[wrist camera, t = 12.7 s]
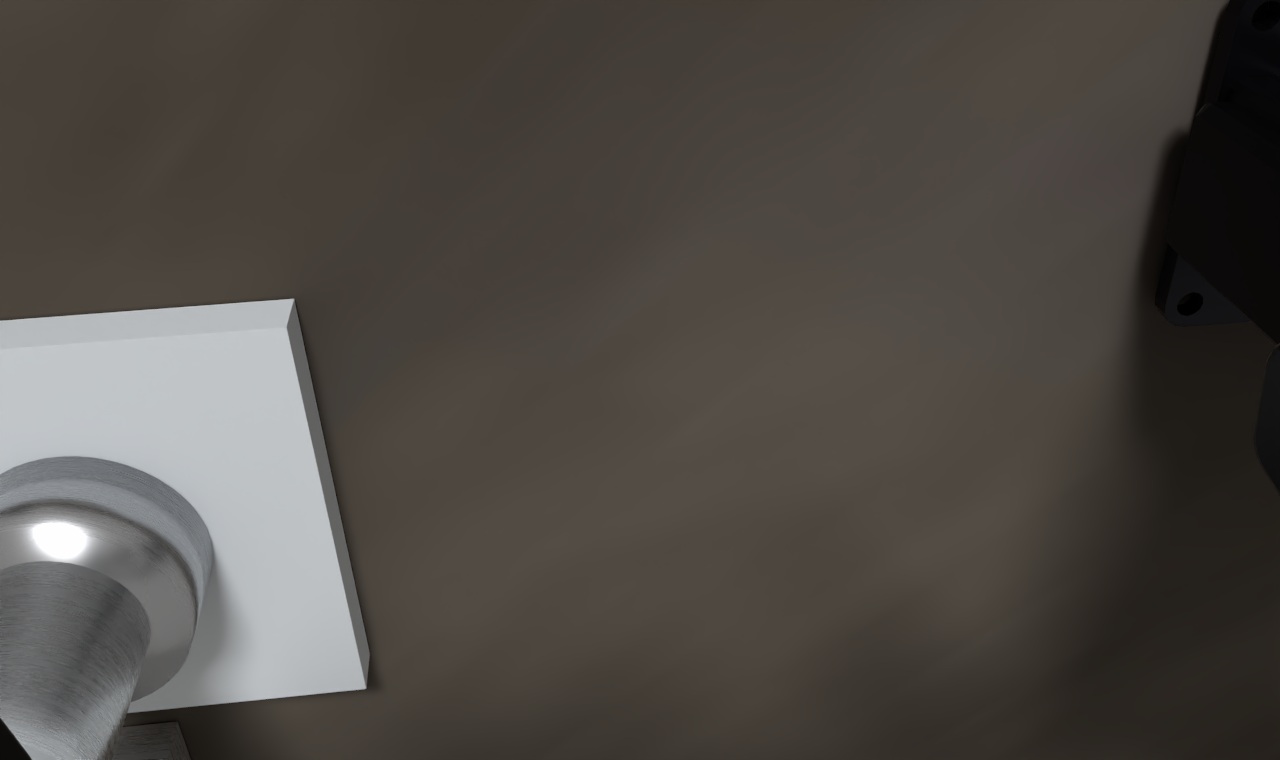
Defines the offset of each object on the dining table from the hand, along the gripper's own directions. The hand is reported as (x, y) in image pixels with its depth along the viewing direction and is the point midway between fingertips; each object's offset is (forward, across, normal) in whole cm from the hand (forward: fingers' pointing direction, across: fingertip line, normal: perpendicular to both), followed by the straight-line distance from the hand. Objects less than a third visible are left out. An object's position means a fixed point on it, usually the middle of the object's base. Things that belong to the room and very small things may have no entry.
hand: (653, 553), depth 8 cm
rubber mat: (+14, +10, +8) cm, 19 cm away
